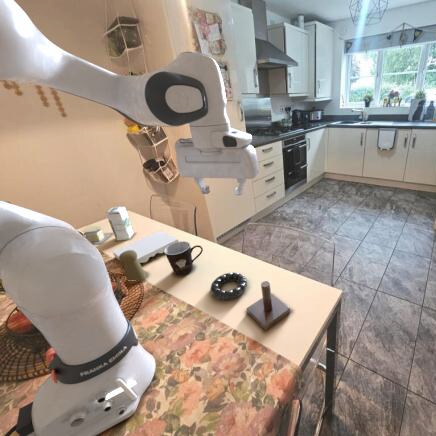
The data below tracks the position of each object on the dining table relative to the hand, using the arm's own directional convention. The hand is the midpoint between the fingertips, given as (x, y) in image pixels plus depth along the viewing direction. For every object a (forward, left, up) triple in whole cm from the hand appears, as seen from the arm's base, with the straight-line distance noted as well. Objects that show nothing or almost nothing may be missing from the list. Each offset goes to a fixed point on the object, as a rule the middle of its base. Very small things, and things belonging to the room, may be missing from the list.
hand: (222, 194), depth 62 cm
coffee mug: (-7, +25, -35) cm, 43 cm away
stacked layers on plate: (-29, +81, -35) cm, 93 cm away
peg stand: (+2, -12, -34) cm, 36 cm away
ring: (-1, +5, -33) cm, 34 cm away
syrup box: (-18, +72, -35) cm, 82 cm away
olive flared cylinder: (-22, +34, -35) cm, 53 cm away
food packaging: (-14, +50, -35) cm, 63 cm away
